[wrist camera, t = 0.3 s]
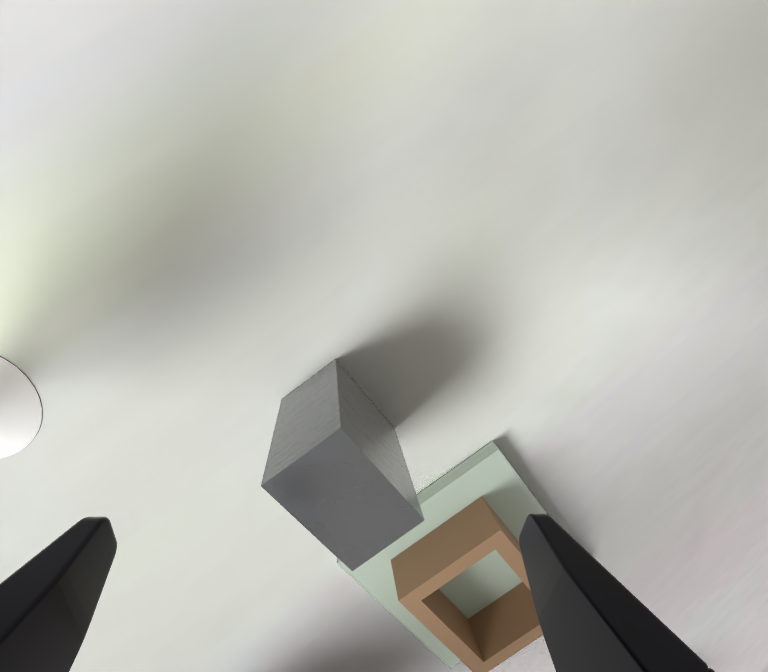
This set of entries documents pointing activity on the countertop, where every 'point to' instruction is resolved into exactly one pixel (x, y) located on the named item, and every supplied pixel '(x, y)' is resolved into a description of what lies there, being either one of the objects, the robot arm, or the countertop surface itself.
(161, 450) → the countertop surface
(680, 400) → the countertop surface
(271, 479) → the brushed grey metal block
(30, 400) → the champagne flute
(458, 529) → the post socket
